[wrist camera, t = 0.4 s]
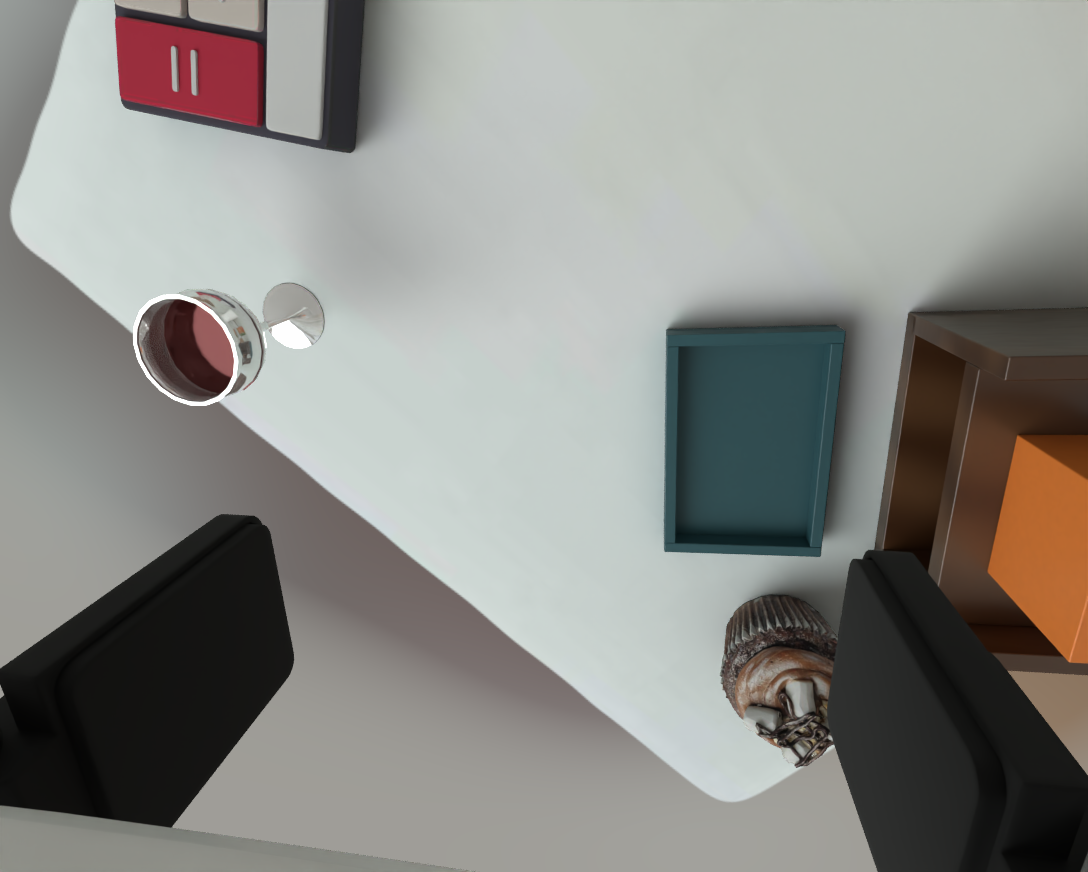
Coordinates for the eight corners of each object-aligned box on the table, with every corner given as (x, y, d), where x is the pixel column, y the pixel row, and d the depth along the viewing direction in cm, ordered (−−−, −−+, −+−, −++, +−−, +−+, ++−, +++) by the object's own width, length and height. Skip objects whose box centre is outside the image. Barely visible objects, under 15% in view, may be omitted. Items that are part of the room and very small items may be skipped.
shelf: (908, 312, 41) (1009, 356, 29) (1117, 306, 39) (1315, 351, 27) (873, 552, 47) (945, 667, 35) (1052, 558, 45) (1190, 682, 33)
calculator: (95, -103, 36) (331, -66, 35) (153, -72, 40) (368, -38, 39) (110, 106, 41) (322, 149, 39) (161, 114, 45) (355, 154, 43)
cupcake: (865, 625, 49) (914, 723, 40) (786, 701, 53) (815, 808, 44) (763, 564, 49) (789, 649, 40) (691, 645, 52) (699, 741, 43)
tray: (666, 329, 44) (667, 335, 42) (836, 324, 42) (845, 330, 40) (663, 538, 49) (664, 552, 47) (813, 542, 48) (820, 557, 46)
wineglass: (319, 263, 46) (213, 283, 35) (346, 352, 48) (255, 398, 37) (239, 279, 47) (114, 304, 36) (269, 365, 50) (159, 413, 38)
